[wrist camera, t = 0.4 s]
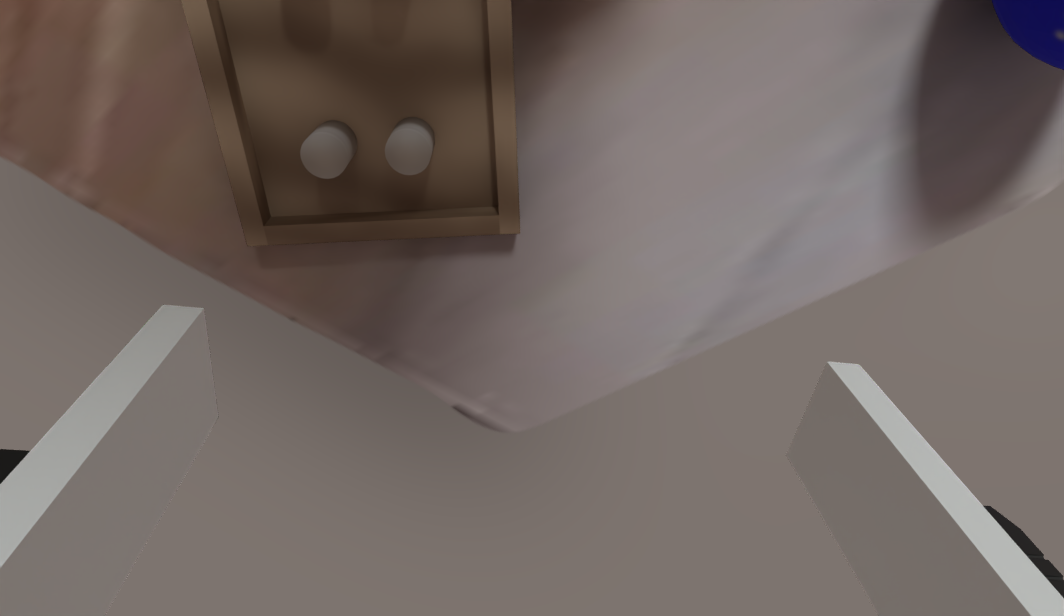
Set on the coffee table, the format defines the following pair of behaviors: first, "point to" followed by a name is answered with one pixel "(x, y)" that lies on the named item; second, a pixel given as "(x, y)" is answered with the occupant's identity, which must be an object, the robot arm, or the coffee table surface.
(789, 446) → the robot arm
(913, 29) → the coffee table surface
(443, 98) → the peg frame
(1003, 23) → the ornament
